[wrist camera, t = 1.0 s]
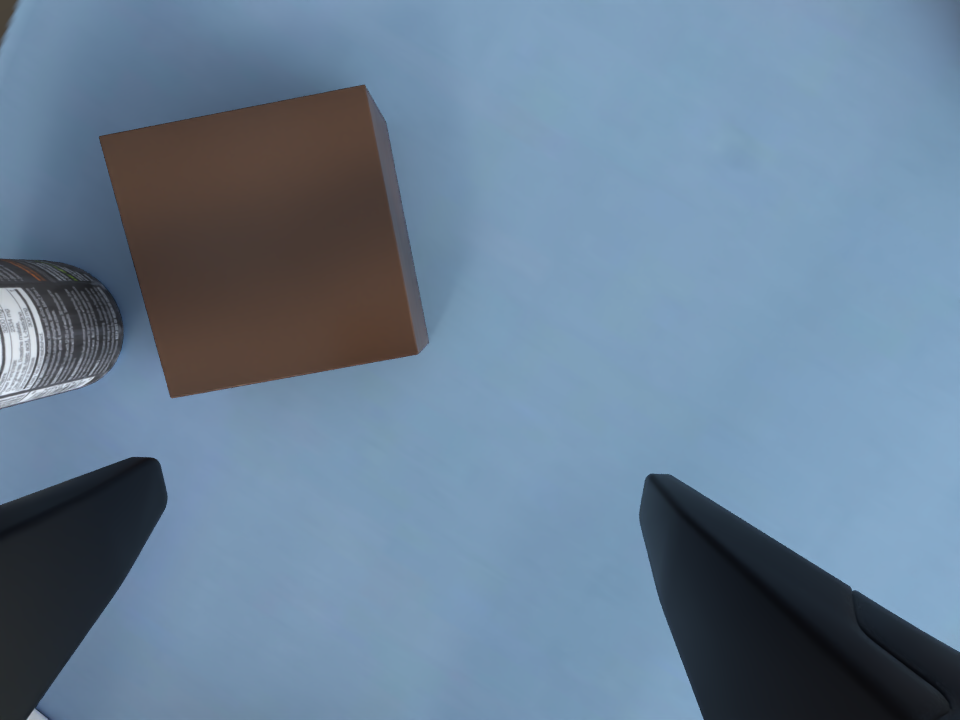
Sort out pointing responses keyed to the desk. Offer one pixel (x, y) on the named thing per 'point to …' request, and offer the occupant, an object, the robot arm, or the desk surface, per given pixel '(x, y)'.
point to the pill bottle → (53, 330)
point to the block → (269, 240)
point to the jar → (36, 716)
